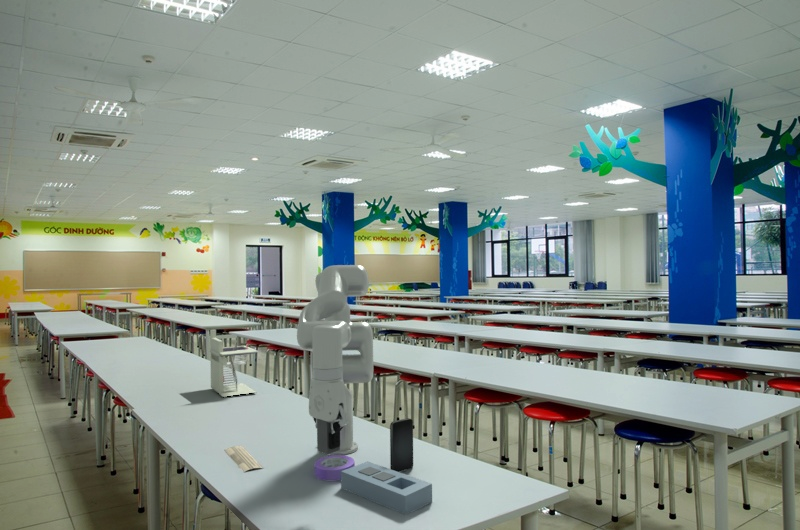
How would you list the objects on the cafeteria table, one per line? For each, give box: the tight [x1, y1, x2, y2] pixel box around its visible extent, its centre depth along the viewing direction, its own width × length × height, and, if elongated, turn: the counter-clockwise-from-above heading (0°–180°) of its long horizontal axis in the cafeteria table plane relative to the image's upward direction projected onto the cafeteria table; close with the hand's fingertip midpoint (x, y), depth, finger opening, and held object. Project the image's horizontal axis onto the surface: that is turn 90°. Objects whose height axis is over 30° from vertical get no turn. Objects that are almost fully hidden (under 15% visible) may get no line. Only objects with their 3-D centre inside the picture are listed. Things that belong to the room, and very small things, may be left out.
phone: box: [389, 417, 414, 473], centre depth 158 cm, size 8×1×15 cm, turn 128°
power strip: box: [340, 461, 433, 516], centre depth 142 cm, size 28×10×5 cm, turn 47°
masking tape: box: [314, 455, 356, 482], centre depth 156 cm, size 12×12×4 cm
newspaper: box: [224, 445, 264, 473], centre depth 169 cm, size 24×7×2 cm, turn 31°
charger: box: [316, 419, 340, 455], centre depth 135 cm, size 4×4×9 cm
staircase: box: [209, 329, 259, 398], centre depth 271 cm, size 28×18×30 cm, turn 31°
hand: (328, 444), depth 135 cm, fingers closed on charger, 4 cm apart
